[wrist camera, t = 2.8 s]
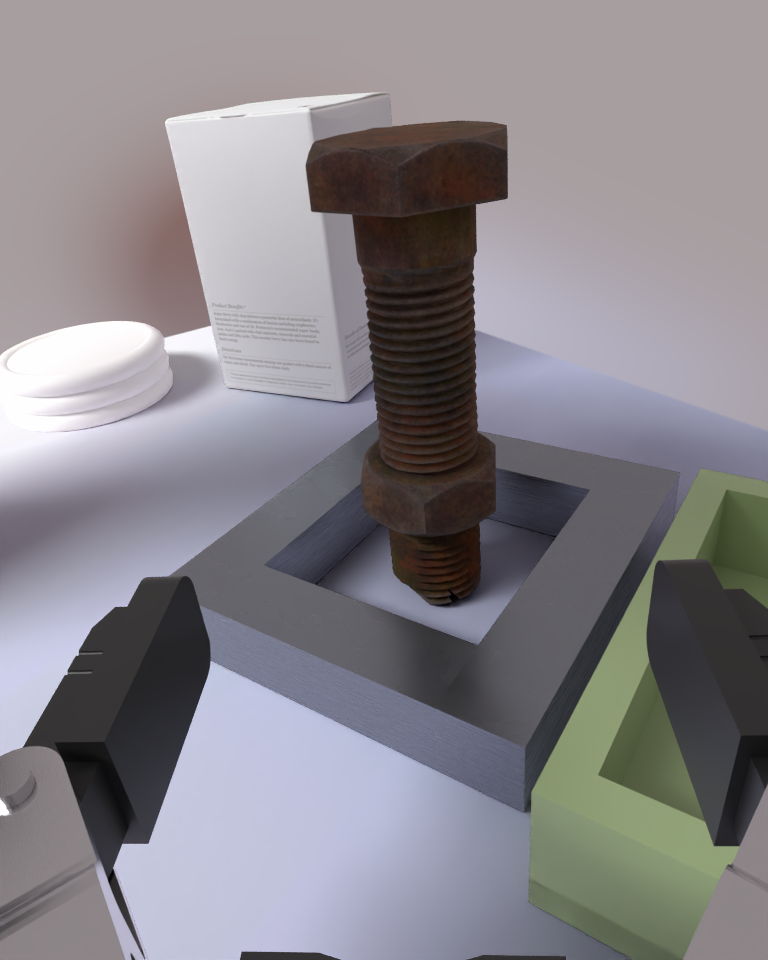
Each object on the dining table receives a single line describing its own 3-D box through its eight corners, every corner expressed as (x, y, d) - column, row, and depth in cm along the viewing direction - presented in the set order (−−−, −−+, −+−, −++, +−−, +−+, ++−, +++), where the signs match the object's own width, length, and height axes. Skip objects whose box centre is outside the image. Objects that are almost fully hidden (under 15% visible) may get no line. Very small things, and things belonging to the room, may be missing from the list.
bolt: (474, 525, 29) (462, 115, 22) (543, 596, 25) (559, 123, 18) (340, 568, 28) (275, 141, 20) (391, 652, 24) (336, 156, 16)
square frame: (173, 642, 25) (155, 586, 24) (391, 458, 35) (387, 412, 33) (523, 812, 18) (524, 747, 17) (671, 527, 28) (679, 472, 27)
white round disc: (171, 357, 50) (159, 308, 48) (180, 414, 42) (165, 357, 40) (19, 386, 48) (0, 335, 46) (-3, 451, 40) (-28, 393, 38)
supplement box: (415, 348, 47) (397, 88, 39) (348, 406, 40) (311, 106, 33) (297, 337, 51) (260, 98, 43) (219, 388, 44) (158, 116, 36)
